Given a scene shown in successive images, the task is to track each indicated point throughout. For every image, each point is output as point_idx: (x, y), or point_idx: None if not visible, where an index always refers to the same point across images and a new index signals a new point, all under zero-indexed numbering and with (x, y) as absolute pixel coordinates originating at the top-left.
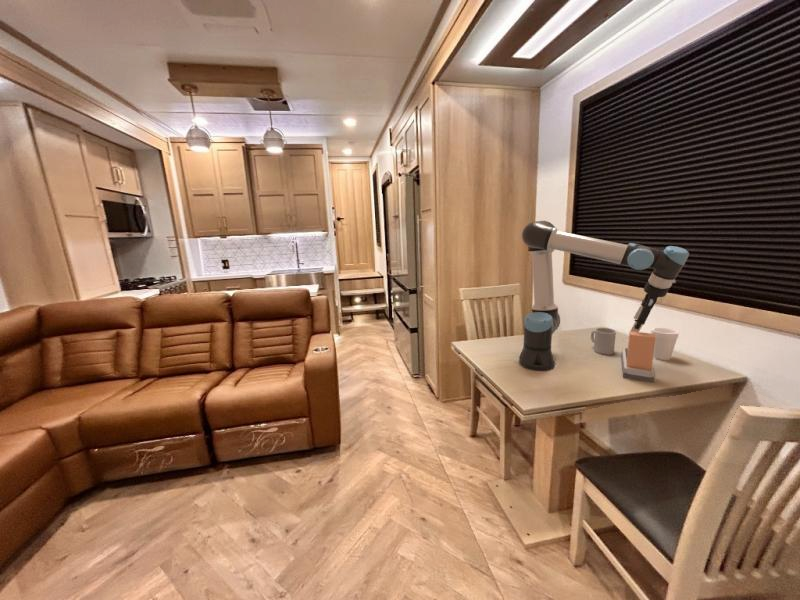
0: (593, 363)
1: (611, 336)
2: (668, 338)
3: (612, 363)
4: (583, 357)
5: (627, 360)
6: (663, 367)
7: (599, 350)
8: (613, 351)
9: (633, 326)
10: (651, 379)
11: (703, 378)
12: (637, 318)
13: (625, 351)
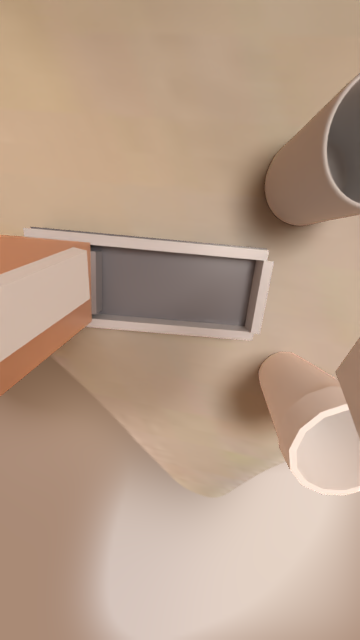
0: (138, 124)
1: (312, 184)
2: (279, 438)
3: (167, 206)
4: (198, 78)
5: (21, 236)
6: (190, 362)
7: (277, 154)
8: (285, 220)
9: (13, 274)
10: None
11: (143, 432)
12: (354, 356)
13: (258, 262)
